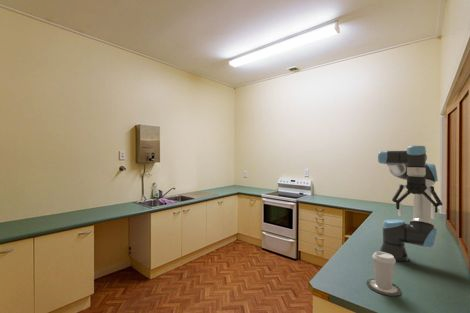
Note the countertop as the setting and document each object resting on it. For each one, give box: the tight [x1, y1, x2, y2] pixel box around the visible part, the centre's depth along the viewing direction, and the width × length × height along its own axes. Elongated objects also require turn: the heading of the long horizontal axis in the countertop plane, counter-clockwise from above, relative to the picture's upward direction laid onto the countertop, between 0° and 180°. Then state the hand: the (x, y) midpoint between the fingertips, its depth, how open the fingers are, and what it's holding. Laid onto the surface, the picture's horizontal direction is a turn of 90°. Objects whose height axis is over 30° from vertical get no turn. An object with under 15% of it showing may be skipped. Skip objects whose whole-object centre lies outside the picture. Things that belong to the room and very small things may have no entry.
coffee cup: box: [371, 251, 397, 290], centre depth 109 cm, size 10×10×15 cm
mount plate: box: [366, 278, 402, 297], centre depth 109 cm, size 14×14×1 cm
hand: (416, 217), depth 116 cm, fingers open, 13 cm apart
